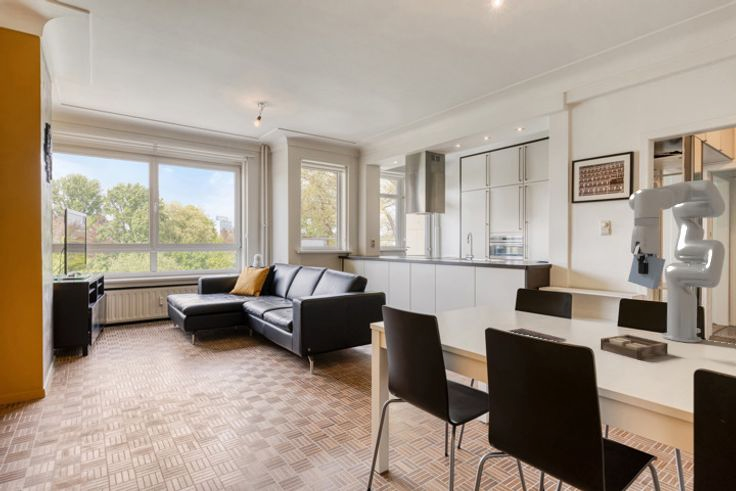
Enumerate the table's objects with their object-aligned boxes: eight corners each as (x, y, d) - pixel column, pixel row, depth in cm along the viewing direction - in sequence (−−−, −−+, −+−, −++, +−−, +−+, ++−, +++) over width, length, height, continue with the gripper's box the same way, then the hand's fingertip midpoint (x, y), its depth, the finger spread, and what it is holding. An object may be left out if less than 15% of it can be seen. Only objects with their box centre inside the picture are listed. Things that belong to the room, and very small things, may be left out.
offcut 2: (634, 352, 140) (634, 342, 140) (648, 356, 136) (648, 346, 136) (625, 354, 138) (625, 344, 138) (639, 357, 134) (639, 347, 134)
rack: (627, 347, 150) (627, 334, 150) (667, 357, 137) (667, 343, 137) (600, 352, 144) (600, 338, 144) (639, 363, 131) (640, 348, 131)
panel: (633, 280, 149) (639, 252, 146) (657, 288, 141) (665, 259, 138) (627, 281, 148) (634, 253, 145) (652, 289, 140) (660, 259, 137)
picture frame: (495, 337, 168) (537, 350, 149) (495, 332, 168) (537, 343, 149) (522, 333, 176) (565, 344, 157) (522, 327, 176) (565, 338, 157)
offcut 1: (618, 348, 145) (618, 337, 145) (630, 351, 141) (631, 340, 141) (609, 349, 143) (609, 339, 143) (621, 353, 139) (621, 342, 139)
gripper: (650, 223, 149) (649, 272, 150) (621, 223, 143) (621, 273, 143) (671, 223, 142) (671, 273, 143) (643, 222, 136) (642, 275, 136)
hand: (646, 273), depth 143 cm, fingers closed on panel, 2 cm apart
